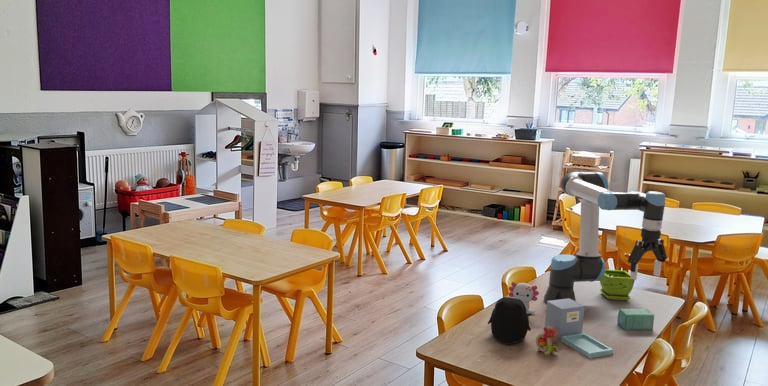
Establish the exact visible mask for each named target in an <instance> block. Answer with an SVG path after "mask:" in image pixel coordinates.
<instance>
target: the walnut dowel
mask: <svg viewBox="0 0 768 386" xmlns="http://www.w3.org/2000/svg"><path fill="white" fill-rule="evenodd" d="M546 328H548V329H551V330H555V331H556V333H555V334H554V338H552V337H551V341H552V346H555V345H557V344H558V337H557V336H558V328H556V327H553V326H547V327H546Z"/></svg>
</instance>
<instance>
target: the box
mask: <svg viewBox="0 0 768 386" xmlns="http://www.w3.org/2000/svg"><path fill="white" fill-rule="evenodd" d="M654 321H655V314H654V313H653V312H652V311H650V310H649V309H648V308H619V309H618V312H617V321H616V322H617V325H619V327H621V328H624V329H623V330H627V331H628V330H629V331H643V330H644V331H651V330H654Z"/></svg>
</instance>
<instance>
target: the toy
mask: <svg viewBox="0 0 768 386" xmlns="http://www.w3.org/2000/svg"><path fill="white" fill-rule="evenodd" d="M537 289H538V286H537V285H531V284H529V283H528V282H527V283H526V282H519V283H516V282H514V281H513V282H511V286H509V287H508V290H509V292H508V296H509V297H510V298H516V299H520V300H521V301H522V302H523V303H524V304H525V307H526V313H527V314H528V315H531V314H535V313H536V312H537V311H536V310H530V307H531V306H530V303H531V302H532V301H534V302H536V301H537V300H538V297H537V296H538V295H539V294H540V292H539V291H538V290H537Z"/></svg>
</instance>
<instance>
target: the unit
mask: <svg viewBox="0 0 768 386" xmlns="http://www.w3.org/2000/svg"><path fill="white" fill-rule="evenodd" d="M545 308H546V309H545V318H544V319H545V321H544V327H547V326H553V327H556V328H558V336H557V339H561V336H568V335H575V334H581V333H583V325H584V315H585V309H586V308H585V305H583V304H581V303H579V302H578V301H576V302H575V301H574V300H572V299H570V298H568V299H560V300H552V301H547V303H546V307H545Z"/></svg>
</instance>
